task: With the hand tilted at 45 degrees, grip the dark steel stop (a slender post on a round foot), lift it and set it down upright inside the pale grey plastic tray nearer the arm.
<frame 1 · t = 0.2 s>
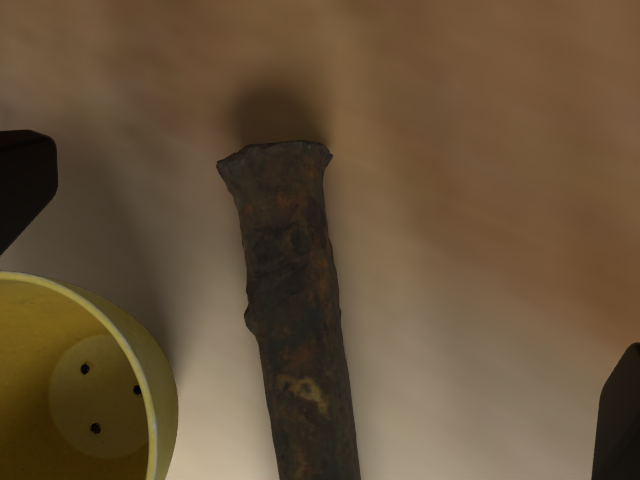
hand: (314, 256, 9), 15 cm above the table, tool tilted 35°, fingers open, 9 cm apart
hand tool: (334, 389, 24), on the table
flower pot: (116, 392, 25), on the table
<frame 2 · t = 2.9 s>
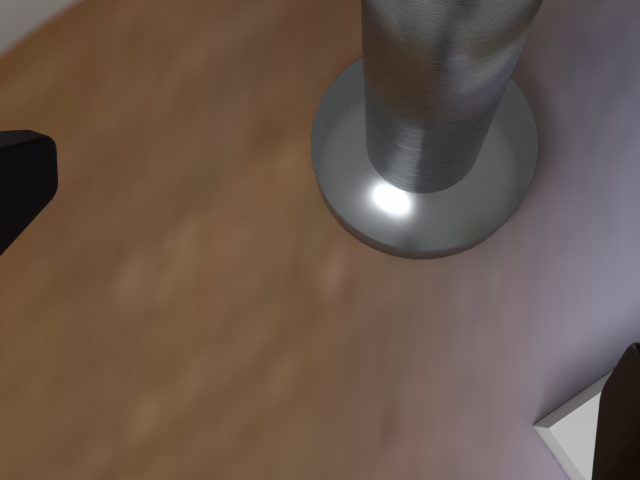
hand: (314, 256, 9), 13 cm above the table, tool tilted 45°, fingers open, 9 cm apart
steel stop: (419, 156, 23), on the table
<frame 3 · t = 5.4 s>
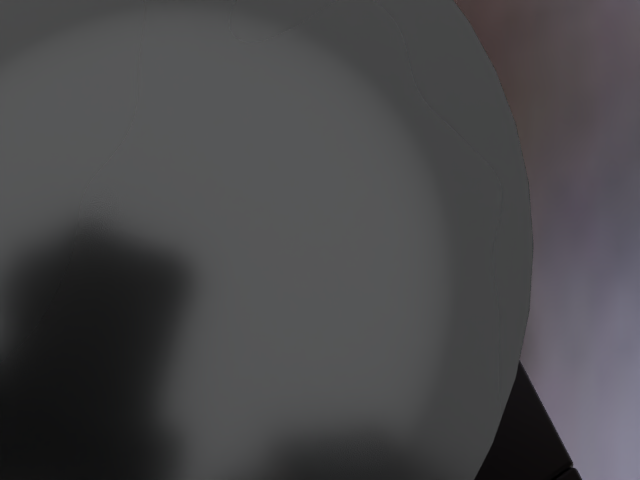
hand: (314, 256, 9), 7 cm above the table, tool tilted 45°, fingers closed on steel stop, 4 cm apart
steel stop: (321, 368, 16), on the table, touching gripper
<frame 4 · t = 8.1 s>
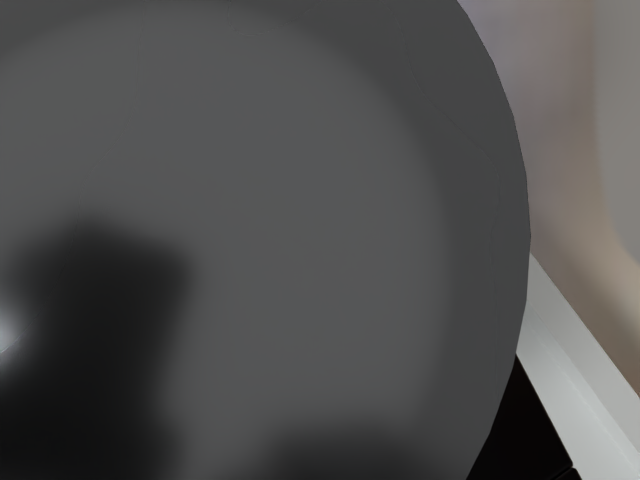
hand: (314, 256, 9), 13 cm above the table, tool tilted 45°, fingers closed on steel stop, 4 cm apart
steel stop: (321, 367, 16), point 6 cm above the table, touching gripper
when the fingers open (8 cm above the table, at t = 10.9 s): steel stop stays where it is, resting on tray.
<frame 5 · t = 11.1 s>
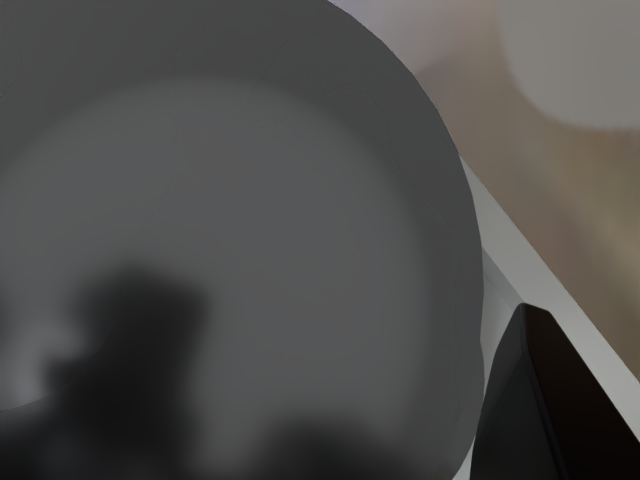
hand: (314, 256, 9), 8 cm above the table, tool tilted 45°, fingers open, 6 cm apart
steel stop: (321, 371, 16), resting on tray
tray: (325, 370, 17), on the table
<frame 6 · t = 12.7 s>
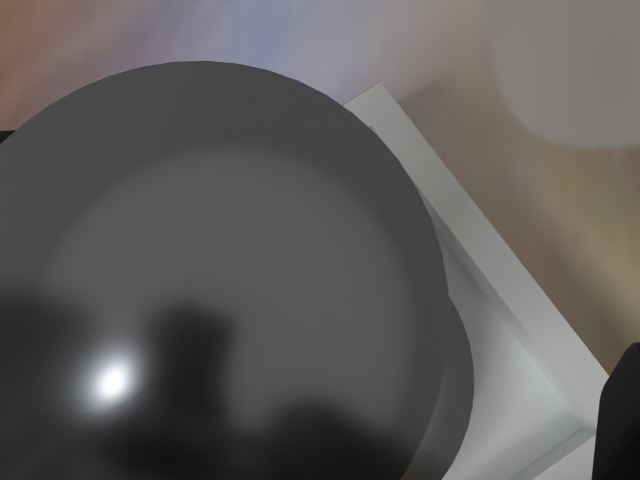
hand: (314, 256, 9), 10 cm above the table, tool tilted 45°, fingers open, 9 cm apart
steel stop: (323, 375, 18), resting on tray
tray: (326, 374, 18), on the table
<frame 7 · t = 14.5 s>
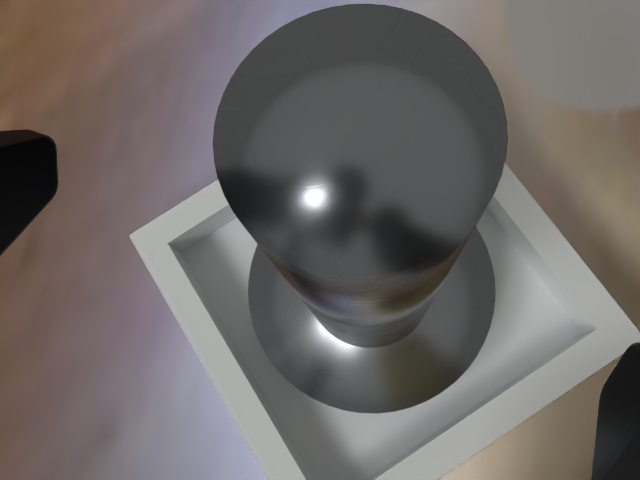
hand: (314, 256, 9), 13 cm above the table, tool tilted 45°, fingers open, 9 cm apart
steel stop: (370, 293, 21), resting on tray
tray: (372, 293, 22), on the table
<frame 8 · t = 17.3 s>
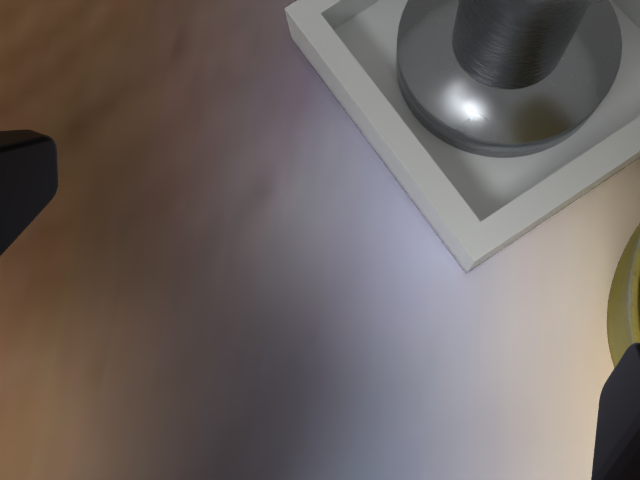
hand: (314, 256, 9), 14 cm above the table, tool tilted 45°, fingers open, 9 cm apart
steel stop: (499, 61, 24), resting on tray
tray: (498, 66, 24), on the table
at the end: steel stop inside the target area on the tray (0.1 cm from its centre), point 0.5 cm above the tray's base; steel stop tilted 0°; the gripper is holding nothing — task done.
